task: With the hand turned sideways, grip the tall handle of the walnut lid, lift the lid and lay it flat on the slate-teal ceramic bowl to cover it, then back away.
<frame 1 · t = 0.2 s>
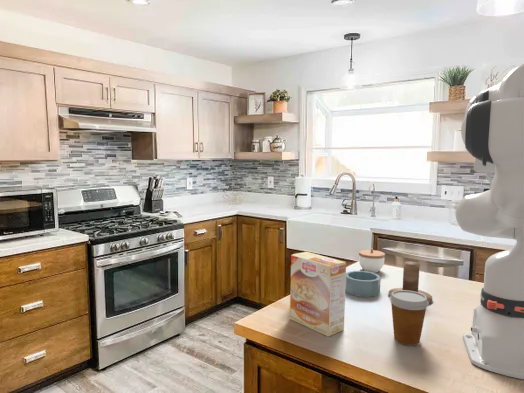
hand: (511, 189, 114), 39 cm above the counter, tool pointing down, fingers open, 8 cm apart
disposable coffee cup: (406, 340, 101), on the counter
bowl: (361, 290, 139), on the counter
lid: (409, 298, 132), on the counter
lidded jar: (371, 271, 164), on the counter
coffeecake box: (316, 325, 110), on the counter
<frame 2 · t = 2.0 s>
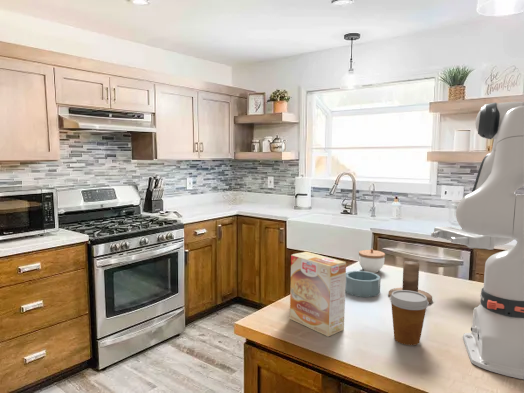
hand: (442, 237, 134), 20 cm above the counter, tool horizontal, fingers open, 8 cm apart
nothing on the counter moved.
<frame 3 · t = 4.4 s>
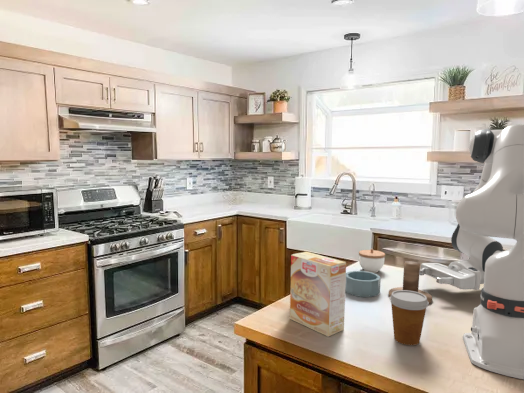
hand: (428, 276, 133), 7 cm above the counter, tool horizontal, fingers open, 8 cm apart
nothing on the counter moved.
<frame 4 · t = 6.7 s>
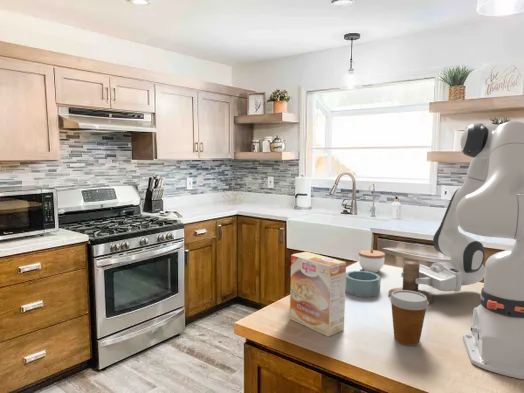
hand: (408, 278, 131), 7 cm above the counter, tool horizontal, fingers closed on lid, 5 cm apart
lid: (409, 297, 132), on the counter, touching gripper
everything else where it was.
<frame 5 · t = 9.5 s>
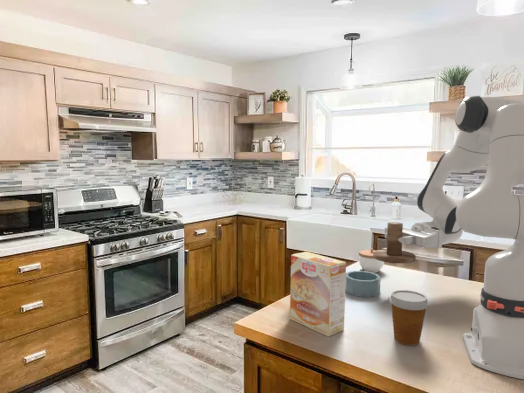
hand: (392, 238, 134), 20 cm above the counter, tool horizontal, fingers closed on lid, 5 cm apart
lid: (393, 257, 135), point 13 cm above the counter, touching gripper
everything else where it was.
when the fingers open (14 cm above the counter, at t = 12.5 s): lid drops 1 cm, resting on bowl.
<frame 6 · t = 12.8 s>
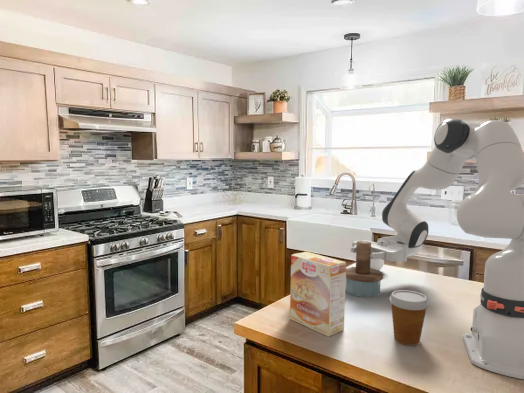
hand: (361, 253, 137), 14 cm above the counter, tool horizontal, fingers open, 8 cm apart
lid: (362, 275, 138), point 5 cm above the counter, touching bowl
everything else where it was.
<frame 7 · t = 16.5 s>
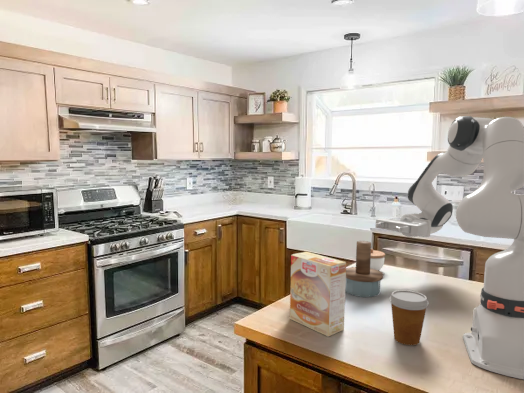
hand: (387, 227, 142), 22 cm above the counter, tool horizontal, fingers open, 8 cm apart
nothing on the counter moved.
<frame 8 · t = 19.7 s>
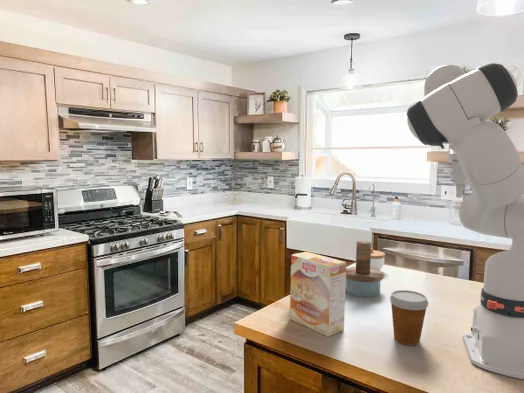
hand: (460, 196, 129), 35 cm above the counter, tool pointing down, fingers open, 8 cm apart
nothing on the counter moved.
at the end: lid 0.1 cm from the bowl (horizontally); lid point 5.5 cm above the counter; lid tilted 0° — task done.
